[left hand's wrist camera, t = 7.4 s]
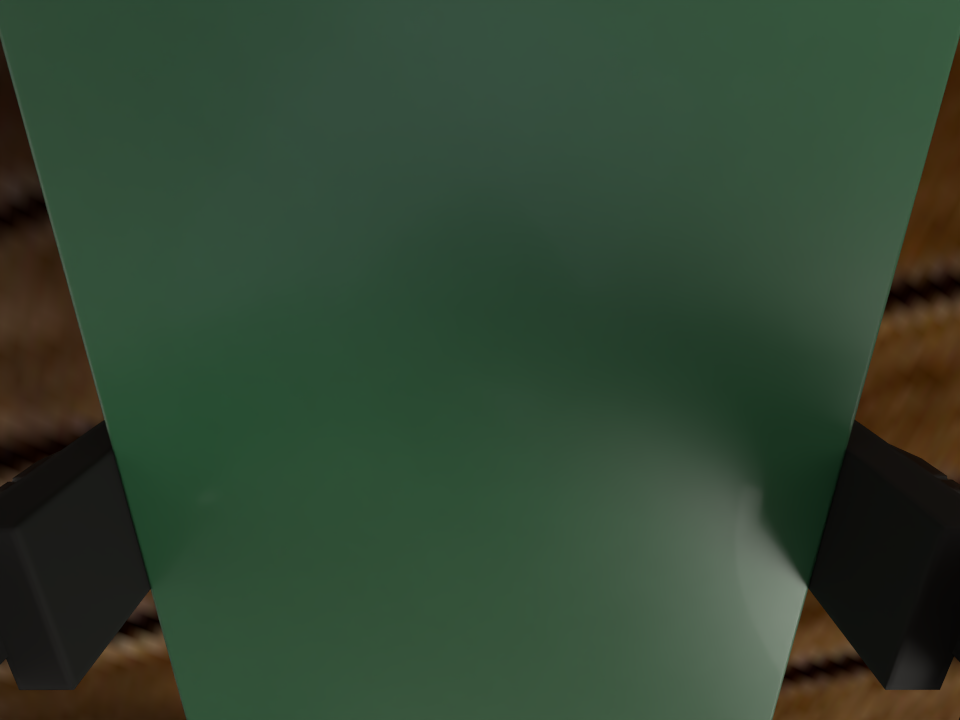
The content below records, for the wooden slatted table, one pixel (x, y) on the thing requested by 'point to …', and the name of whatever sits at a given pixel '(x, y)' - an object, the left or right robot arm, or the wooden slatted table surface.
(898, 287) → the wooden slatted table surface
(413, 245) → the cabinet
